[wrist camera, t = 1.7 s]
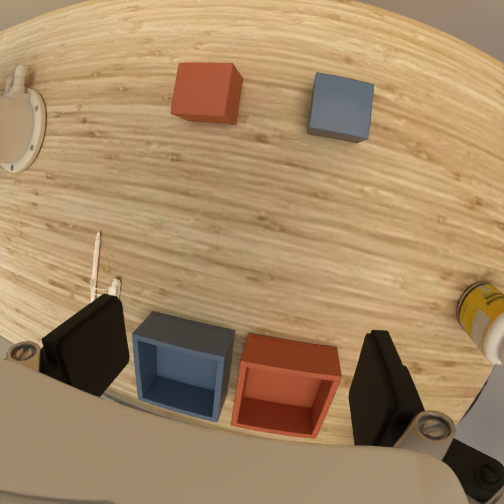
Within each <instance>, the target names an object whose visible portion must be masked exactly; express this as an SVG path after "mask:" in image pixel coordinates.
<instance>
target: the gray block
mask: <svg viewBox="0 0 504 504" xmlns="http://www.w3.org/2000/svg"><path fill="white" fill-rule="evenodd" d="M373 92H374V84H371V83H366V82H362V81H358V80H353V79H349V78H344V77H339V76H334V75H329V74H323V73H316V75H315V81H314V86H313V93H312V101H311V109H310V116H309V124H308V131H307V134H311V135H317V136H323V137H328V138H333V139H338V140H343V141H348V142H353V143H359V142H361V141H364V140H367V139H368V136H369V128H370V120H371V112H372V102H373Z"/></svg>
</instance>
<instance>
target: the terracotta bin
mask: <svg viewBox="0 0 504 504" xmlns="http://www.w3.org/2000/svg"><path fill="white" fill-rule="evenodd" d="M341 377H342V376H341V369H340V363H339V357H338V351H337V347H329V346H322V345H315V344H309V343H302V342H296V341H290V340H284V339H278V338H273V337H267V336H262V335H256V334H251V333H249V335H248V338H247V342H246V345H245V348H244V351H243V355H242V358H241V361H240V368H239V374H238V381H237V388H236V394H235V401H234V407H233V414H232V420H231V426H235V427H240V428H245V429H251V430H256V431H262V432H268V433H274V434H281V435H288V436H295V437H304V438H313V439H316V437H317V435H318V433H319V431H320V428H321V426H322V424H323V422H324V419H325V417H326V415H327V412H328V410H329V408H330V405H331V403H332V400H333V398H334V395H335V393H336V390H337V388H338V385H339V383H340V380H341Z"/></svg>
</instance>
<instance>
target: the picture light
mask: <svg viewBox="0 0 504 504" xmlns="http://www.w3.org/2000/svg"><path fill="white" fill-rule="evenodd" d="M100 238H101V236H100V232H99V231H98V233H97V236H96V239H95V249H94V259H93V271H92V279H91V288H90V290H91V302H93V301H94V300H95V295H98V294H96V289H98V288H96V280H97V268H98V258H99V248H100V243H101V239H100ZM120 286H121V282H120V280H118V279H116V278H114V280H113V282H112V285H111V286H109V288H107V289H109V291H108V294H109V295H114V296H117V297H118V298H119V293H120ZM107 289H98V290H107ZM98 296H101V295H98Z"/></svg>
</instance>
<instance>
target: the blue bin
mask: <svg viewBox="0 0 504 504" xmlns="http://www.w3.org/2000/svg"><path fill="white" fill-rule="evenodd" d="M234 337H235V330H231V329H226V328H221V327H216V326H212V325H207V324H203V323H198V322H194V321H189V320H185V319H181V318H177V317H173V316H168V315H164V314H160V313H156V312H152V313H151V314H150V315H149V316H148V317H147V318H146V319H145V320H144V322H143V323H142V324H141V325H140V326H139V327H138V328H137V329H136V330H135V331H134V332H133V333H132V338H133V353H134V364H135V374H136V383H137V392H138V400H141V401H144V402H147V403H150V404H153V405H156V406H159V407H162V408H165V409H169V410H172V411H175V412H179V413H182V414H186V415H190V416H193V417H197V418H201V419H205V420H209V421H213V422H218V420H219V417H220V414H221V411H222V408H223V405H224V402H225V399H226V396H227V391H228V383H229V375H230V367H231V360H232V352H233V344H234Z"/></svg>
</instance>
